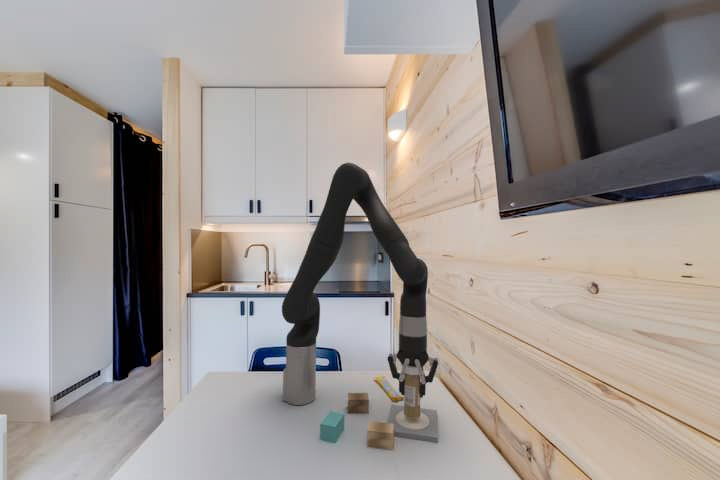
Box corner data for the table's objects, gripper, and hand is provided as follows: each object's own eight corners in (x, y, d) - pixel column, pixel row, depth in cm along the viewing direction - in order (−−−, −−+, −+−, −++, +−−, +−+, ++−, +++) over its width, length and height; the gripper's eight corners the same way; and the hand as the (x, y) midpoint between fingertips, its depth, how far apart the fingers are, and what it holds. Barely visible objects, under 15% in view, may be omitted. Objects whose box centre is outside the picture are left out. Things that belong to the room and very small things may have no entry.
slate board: (384, 434, 77) (385, 429, 77) (391, 408, 90) (391, 404, 90) (437, 442, 74) (437, 437, 74) (436, 414, 87) (436, 409, 87)
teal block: (320, 440, 75) (320, 423, 75) (330, 426, 81) (330, 411, 81) (335, 443, 74) (335, 426, 74) (344, 429, 79) (344, 414, 79)
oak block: (367, 447, 72) (367, 430, 72) (369, 437, 76) (369, 421, 76) (392, 450, 71) (392, 433, 71) (393, 440, 75) (393, 423, 75)
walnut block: (347, 413, 87) (347, 399, 87) (347, 406, 91) (348, 393, 91) (368, 413, 87) (368, 399, 87) (367, 406, 91) (368, 393, 91)
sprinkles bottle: (424, 416, 81) (424, 365, 82) (411, 421, 79) (412, 369, 79) (412, 408, 85) (412, 360, 86) (399, 413, 83) (400, 363, 83)
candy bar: (405, 402, 94) (405, 396, 94) (392, 404, 93) (392, 398, 93) (384, 380, 110) (384, 374, 110) (373, 381, 109) (373, 376, 109)
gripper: (384, 333, 81) (384, 398, 80) (440, 337, 77) (439, 405, 77) (388, 326, 88) (387, 386, 87) (439, 330, 85) (439, 392, 84)
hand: (412, 394), depth 82 cm, fingers closed on sprinkles bottle, 4 cm apart
